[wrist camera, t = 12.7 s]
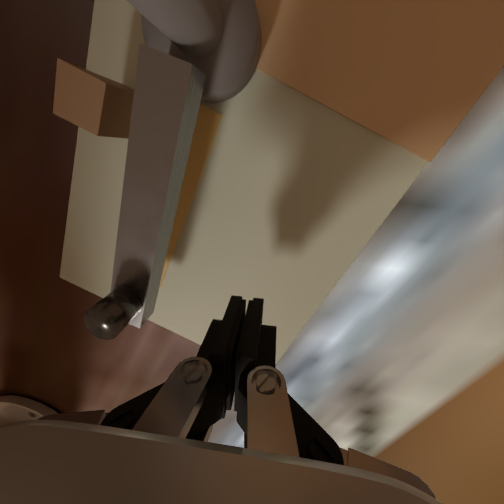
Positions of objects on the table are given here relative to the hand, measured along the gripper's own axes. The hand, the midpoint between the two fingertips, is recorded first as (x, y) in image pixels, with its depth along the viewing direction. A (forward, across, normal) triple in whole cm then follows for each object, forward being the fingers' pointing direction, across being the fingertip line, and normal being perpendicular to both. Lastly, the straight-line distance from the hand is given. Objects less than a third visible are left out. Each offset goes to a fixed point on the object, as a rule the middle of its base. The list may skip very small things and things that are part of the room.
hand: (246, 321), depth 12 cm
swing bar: (+2, +5, -5) cm, 7 cm away
